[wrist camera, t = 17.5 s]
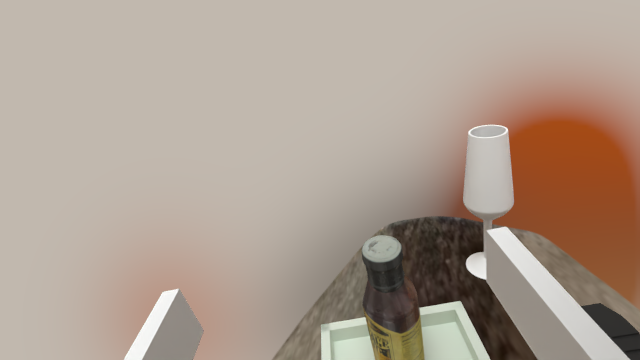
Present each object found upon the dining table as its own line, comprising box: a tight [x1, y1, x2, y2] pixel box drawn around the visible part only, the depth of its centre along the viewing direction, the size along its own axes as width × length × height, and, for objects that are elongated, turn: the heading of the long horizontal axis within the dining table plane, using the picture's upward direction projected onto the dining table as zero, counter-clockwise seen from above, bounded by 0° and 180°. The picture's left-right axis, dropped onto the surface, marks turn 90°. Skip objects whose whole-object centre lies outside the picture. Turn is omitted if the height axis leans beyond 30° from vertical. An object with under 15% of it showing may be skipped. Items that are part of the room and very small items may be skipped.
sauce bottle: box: [362, 235, 425, 360], centre depth 36 cm, size 7×6×20 cm
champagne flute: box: [463, 125, 514, 279], centre depth 48 cm, size 7×7×24 cm
